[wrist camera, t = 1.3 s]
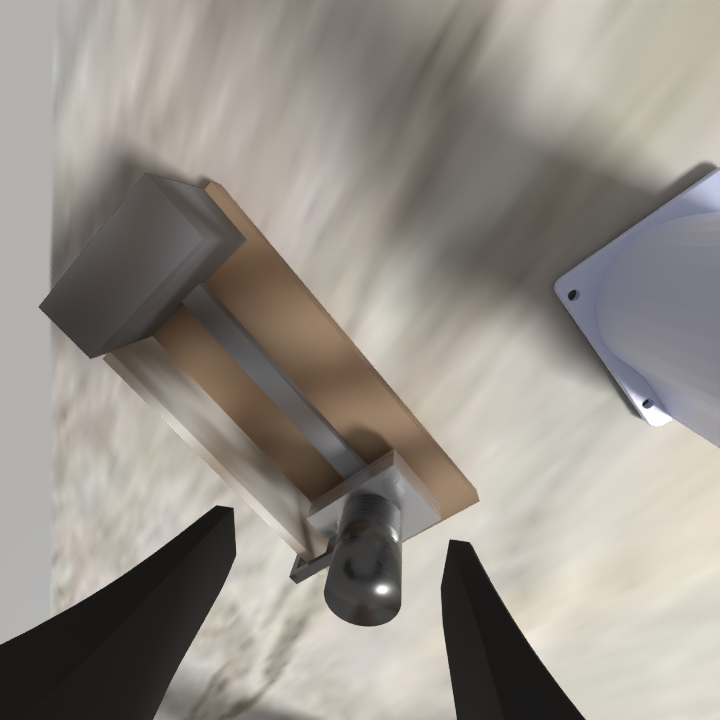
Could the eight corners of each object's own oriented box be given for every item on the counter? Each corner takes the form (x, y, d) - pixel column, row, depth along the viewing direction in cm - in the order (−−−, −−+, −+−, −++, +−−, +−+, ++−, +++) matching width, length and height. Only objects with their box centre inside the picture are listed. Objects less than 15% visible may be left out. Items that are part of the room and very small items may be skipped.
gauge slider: (438, 499, 19) (451, 601, 14) (327, 562, 22) (300, 670, 16) (394, 448, 19) (389, 533, 13) (284, 518, 21) (241, 615, 16)
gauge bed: (476, 489, 21) (496, 559, 16) (360, 553, 24) (348, 629, 19) (221, 185, 18) (153, 162, 13) (118, 300, 20) (30, 317, 15)
